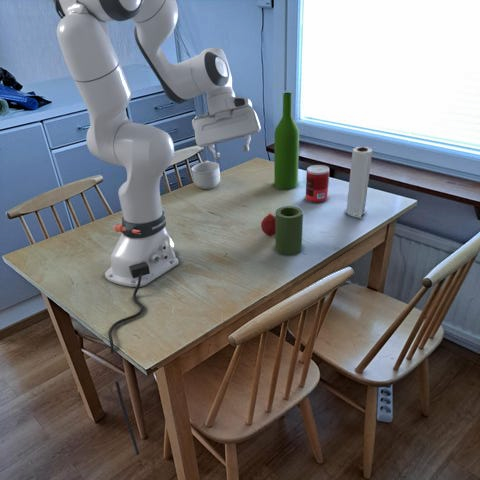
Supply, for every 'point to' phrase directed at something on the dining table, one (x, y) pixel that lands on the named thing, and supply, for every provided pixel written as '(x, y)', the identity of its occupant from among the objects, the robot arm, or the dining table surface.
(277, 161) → the wine bottle
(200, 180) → the teacup
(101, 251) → the dining table surface
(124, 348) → the dining table surface
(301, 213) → the green cylindrical vase
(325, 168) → the canned food
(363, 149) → the paper towel roll
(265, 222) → the onion
